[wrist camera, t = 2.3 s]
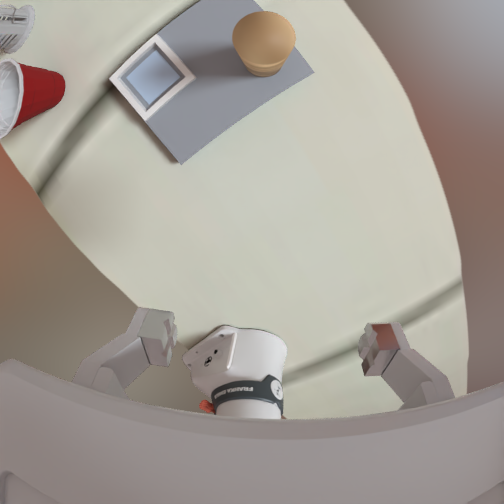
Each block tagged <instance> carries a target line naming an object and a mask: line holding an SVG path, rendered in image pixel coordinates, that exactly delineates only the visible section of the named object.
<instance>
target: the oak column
mask: <svg viewBox="0 0 504 504" xmlns="http://www.w3.org/2000/svg"><path fill="white" fill-rule="evenodd" d="M232 41H233V45H234V47H235V49H236V51H237V53H238V54H239V56H240V58H241V60H242V61H243V63H244V65H245V67H246V68H247V70H248V71H249V72H250V73H252V74H253V75H255V76H258V77H270V76H273V75H275V74H276V73H278V72H279V70H280V69H281V68H282V66H283V64H284V63H285V61H286V59H287V58H288V56H289V55H290V53H291V51H292V50H293V48H294V45H295V41H296V36H295V31H294V29H293V27H292V25H291V24H290V22H289V21H288V20H287V19H285V18H284V17H282V16H281V15H279V14H276V13H273V12H268V11H259V12H254V13H251V14H248V15H246V16H244V17H243V18H242V19H241V20H239V21H238V23H237V24H236V26H235V27H234V30H233V33H232Z"/></svg>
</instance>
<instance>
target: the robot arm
mask: <svg viewBox="0 0 504 504" xmlns="http://www.w3.org/2000/svg"><path fill="white" fill-rule="evenodd" d="M174 319H175V317H174V313H173V312H170V311H163V310H157V309H149V308H143V307H139V308H138V309H137V311H136V313H135V315H134V317H133V319H132V321H131V323H130V325H129V328H128V329H127V331H126V333H125V334H121V335H120V336H118V337H117V338H115V339H113V340H112V341H110V342H109V343H108V344H106V345H104V346H103V347H101V348H100V349H98V350H97V351H95V352H94V353H92V354H91V355H89V356H88V357H86V358H85V359H83V360H82V362H81V364H80V366H79V368H78V370H77V372H76V374H75V376H74V378H73V380H72V382H69V381H66V380H63V379H61V378H58V377H56V376H53V375H50V374H48V373H45V372H43V371H41V370H38V369H36V368H34V367H31V366H29V365H27V364H25V363H22V362H20V361H18V360H16V359H8V360H6V361H4V362H2V363H1V364H0V504H504V382H502V383H499V384H496V385H494V386H491V387H488V388H485V389H482V390H479V391H476V392H473V393H470V394H467V395H463V396H460V397H456V398H455V396H454V393H453V391H452V388H451V385H450V383H449V380H448V378H447V376H445V375H444V374H443V373H442V372H441V371H440V370H438V369H437V368H436V367H435V366H434V365H432V364H431V363H430V362H429V361H428V360H426V359H425V358H424V357H423V356H422V355H420V354H419V353H418V352H417V351H415V350H414V349H411V348H410V346H409V343H408V341H407V339H406V336H405V334H404V332H403V329H402V327H401V325H400V323H399V322H388V323H387V322H383V323H368V324H367V325H366V326H365V328H364V330H365V333H364V334H363V335H362V336H361V337H360V340H359V343H358V352H359V356H360V357H361V358H362V359H363V360H364V361H363V362H362V368H363V372H364V376H380V375H382V376H381V377H382V378H383V379H384V380H385V381H386V382H387V384H388V385H389V386H390V387H391V388H392V389H393V391H394V392H395V393H396V394H397V395H398V396H399V398H400V399H401V400H402V401H403V402H404V404H403V405H402V406H401V407H400V408H399V409H398V410H397V411H392V412H385V413H378V414H370V415H361V416H351V417H339V418H323V419H281V415H282V414H283V389H282V384H281V383H282V373H283V367H284V363H285V359H286V356H287V347H286V345H285V343H284V342H283V341H282V340H281V339H280V338H279V337H277V336H275V335H273V334H271V333H269V332H265V331H261V330H254V329H238V328H235V327H231V326H221V327H220V328H218V329H217V330H216V331H214V332H213V333H212V334H210V335H209V336H208V337H206V338H205V339H203V340H202V341H201V342H199V343H198V344H197V345H195V346H194V347H193V348H191V349H190V350H188V351H187V352H186V353H184V354H183V356H182V360H183V362H184V364H185V365H186V366H187V368H188V369H189V370H190V371H191V380H192V382H193V384H194V385H195V386H196V387H197V388H198V389H199V390H200V391H202V392H203V393H204V394H206V395H207V396H209V397H210V398H211V399H212V403H213V404H212V403H209V402H208V401H207V400H203V401H202V402H201V403H200V405H199V406H200V409H202V410H205V411H206V412H207V413H209V412H211V411H212V412H213V413H214V415H210V414H203V413H195V412H189V411H182V410H176V409H170V408H165V407H159V406H155V405H150V404H146V403H141V402H137V401H133V400H130V399H129V398H128V396H127V394H126V393H125V391H124V389H125V388H126V387H127V386H128V385H130V384H131V383H132V382H133V381H134V380H135V379H136V378H137V377H138V376H139V375H140V374H141V373H142V372H144V371H145V370H146V369H147V368H148V367H149V366H150V364H151V365H157V366H164V367H169V365H170V361H171V358H172V351H171V349H172V348H174V347H175V344H176V340H177V327H176V325H175V324H174V323H173V322H174Z"/></svg>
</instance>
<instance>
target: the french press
mask: <svg viewBox="0 0 504 504" xmlns="http://www.w3.org/2000/svg"><path fill="white" fill-rule="evenodd" d="M1 6H9V7H13V8H14V9H12V8H0V19H1V16H4V17H3V19H2V20H0V46H1V48H0V49H4V51H5V52H6V53H9V54H10V53H13V52H16V51H17V50H18V49H19V48H20V47H21V46H22V45H23V44H24V42H25V41H26V39H27V38H28V36H29V34H30V32H31V30H32V27H33V23H34V19H35V10H34V8H33V7H32V6H30V5H25V6H23V7H21V8H20V9H16V8H15V7H14V6H12V5H0V7H1ZM6 17H8V18H7V20H5V18H6Z"/></svg>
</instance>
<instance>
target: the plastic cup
mask: <svg viewBox="0 0 504 504" xmlns="http://www.w3.org/2000/svg"><path fill="white" fill-rule="evenodd" d="M64 92H65V80H64V78H63V76H62V75H60V74H59V73H57V72H54V71H48V70H47V69H42V68H37V67H32V66H26V65H24V64H20V63H17V62H16V61H15V60H14V59H11V58H10V59H3V60H2V61H1V62H0V139H1V138H2V137H4V136H6V135H7V134H9V132H10V131H11V130H12V129H13V128H15V127H16V126H18V125H20V124H21V123H23V122H24V121H26V120H28V119H30V118H32V117H34V116H36V115H38V114H40V113H42V112H44V111H45V110H48V109H50V108H52V107H54V106H55V105H57V104H58V103H59V102H60V101H61V99H62V97H63V95H64Z"/></svg>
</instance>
